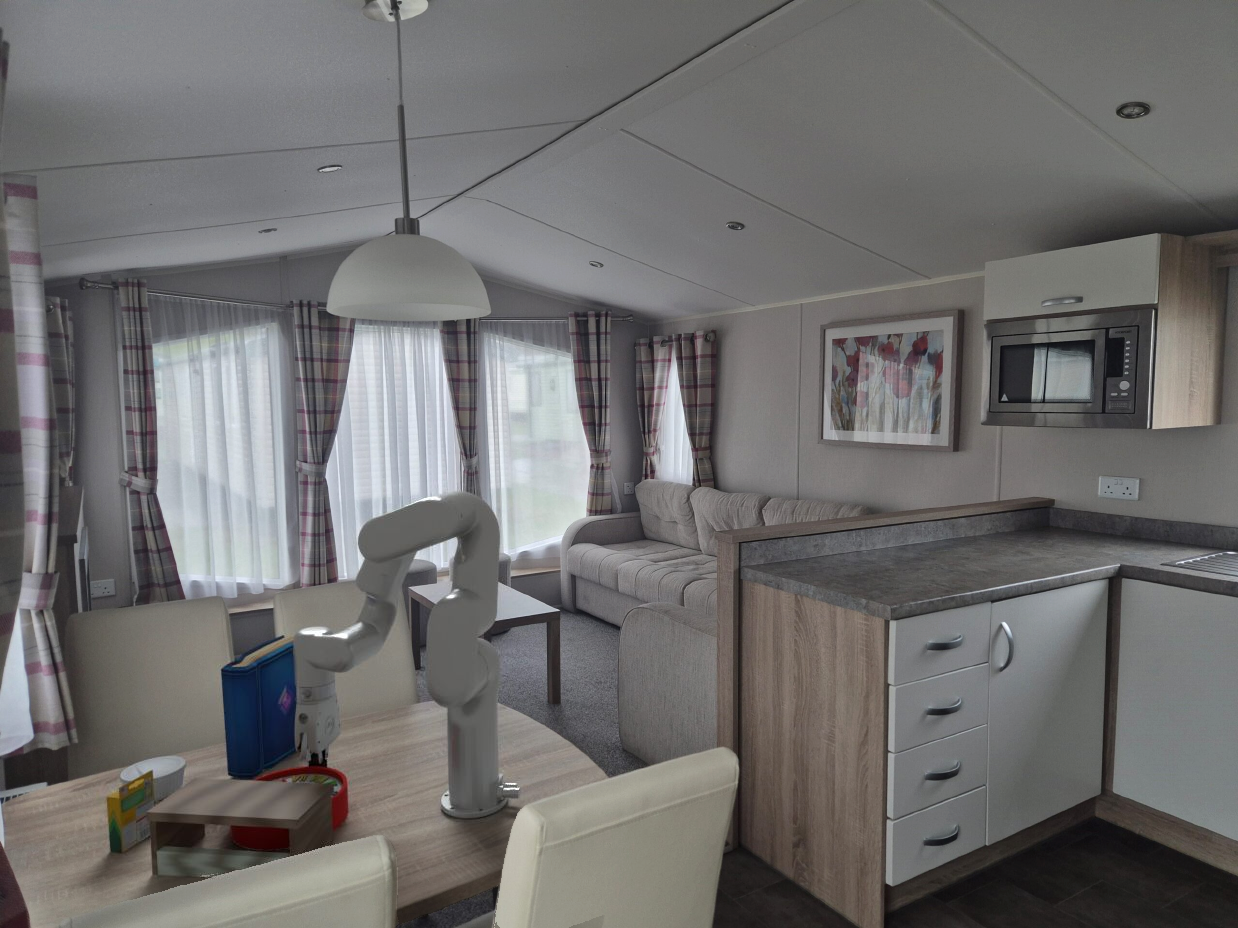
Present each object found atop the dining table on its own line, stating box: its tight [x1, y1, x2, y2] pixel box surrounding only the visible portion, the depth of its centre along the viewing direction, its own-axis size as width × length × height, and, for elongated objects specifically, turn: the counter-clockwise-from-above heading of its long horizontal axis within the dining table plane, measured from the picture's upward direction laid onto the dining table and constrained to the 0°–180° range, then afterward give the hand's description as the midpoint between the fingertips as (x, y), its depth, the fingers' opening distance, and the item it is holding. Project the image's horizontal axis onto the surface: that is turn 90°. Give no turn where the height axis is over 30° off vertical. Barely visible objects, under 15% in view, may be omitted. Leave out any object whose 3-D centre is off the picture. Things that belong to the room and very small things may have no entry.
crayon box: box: [106, 770, 156, 854], centre depth 137 cm, size 7×3×12 cm, turn 166°
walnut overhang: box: [146, 777, 334, 879], centre depth 131 cm, size 26×12×10 cm, turn 83°
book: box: [220, 634, 297, 780], centre depth 169 cm, size 22×7×25 cm, turn 168°
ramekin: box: [119, 755, 187, 803], centre depth 155 cm, size 11×11×5 cm
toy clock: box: [230, 765, 349, 851], centre depth 144 cm, size 20×6×20 cm
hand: (318, 779), depth 156 cm, fingers closed
